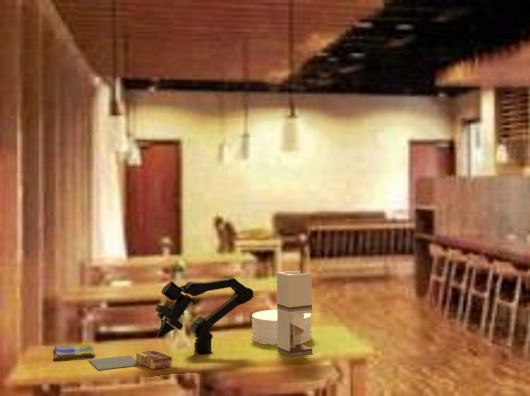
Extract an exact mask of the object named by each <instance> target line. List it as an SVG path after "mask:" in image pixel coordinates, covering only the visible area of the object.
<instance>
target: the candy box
mask: <svg viewBox="0 0 530 396" xmlns="http://www.w3.org/2000/svg"><path fill="white" fill-rule="evenodd" d="M135 354H136V355H135V356H136V358H135V359H136V362H138V363H140V364H142V365H143V366H145V367H147V368H150V369H151V370H154V369H155V370H156V369H163V368H172V367H173V361H172V360H173V358H172V356H169V355H167V354H165V353H161V352H159V351H157V350H149V351H147V350H146V351H139V352H138V351H137V352H136V353H135Z"/></svg>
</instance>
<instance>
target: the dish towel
mask: <svg viewBox="0 0 530 396" xmlns="http://www.w3.org/2000/svg"><path fill="white" fill-rule="evenodd" d="M95 357H96V353H95V350H94V348H93V343H92V342H86V343H81V344H78V345H58V344H57V345H54V353H53V357H52V360H54V361H64V360H65V361H66V359H68V360H83V359H84V360H85V359H95Z"/></svg>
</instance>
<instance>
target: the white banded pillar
mask: <svg viewBox="0 0 530 396" xmlns="http://www.w3.org/2000/svg"><path fill="white" fill-rule="evenodd" d="M312 276H313V275H312V272H307V273H306V272H305V273H301V270H292V271H291V270H290V271H277V272H276V297H277V298H276V301H277V302H276V304H277V305H276V310H277V325H278V345H277V352H278V353H280V352H281V354H283V355H286V356H288V357H294V356H295V355H296V356H301V355H302V354H303V355H308V354H309V353H310V354H313V348H312V347H309V346H307V345H304V344H303V343H301V334H302V333H303V332H304V314H305V313H310V314H311V313H313V299H312V298H313V292H312V291H313V289H312V288H313V287H312V286H313V285H312V279H313V278H312Z"/></svg>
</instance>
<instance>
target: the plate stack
mask: <svg viewBox="0 0 530 396" xmlns="http://www.w3.org/2000/svg"><path fill="white" fill-rule="evenodd" d="M251 318H252V321H251V323H252V325H251V329H252V332H251V334H252V337H251V339H252V341H253V340H254V341H253V342H255V341H256V342H255V343H257V342H259V343H258V344H261V343H265V344H264V345H268V344H278V325H277V309H270V310H269V309H268V310H261V311H257V312H254V313H252V315H251ZM310 339H311V340H312V314H311V313H305V314H304V332H303V333H302V334H301V342H305V341H308V340H310ZM311 340H310V341H311ZM308 342H309V341H308ZM305 343H306V342H305Z"/></svg>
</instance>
